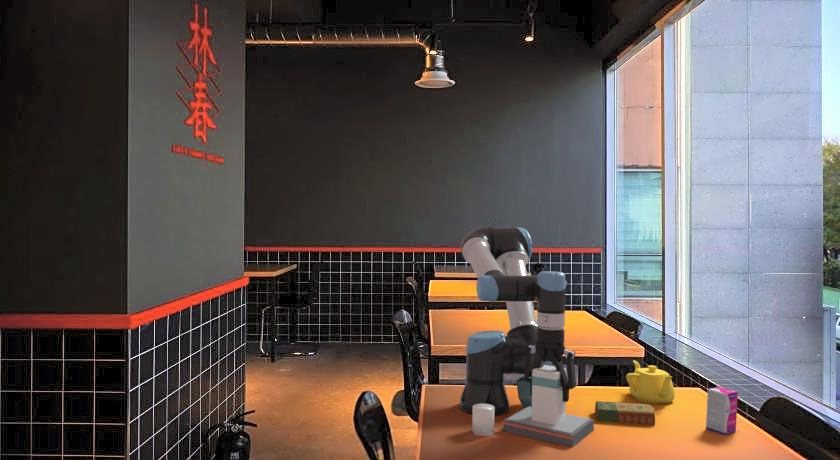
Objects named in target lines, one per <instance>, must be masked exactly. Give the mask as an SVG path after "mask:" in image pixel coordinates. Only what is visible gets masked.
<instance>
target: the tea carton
mask: <svg viewBox="0 0 840 460" xmlns="http://www.w3.org/2000/svg"><path fill="white" fill-rule="evenodd" d="M564 370H565V373H566V374H567V367H564ZM561 389H562V386H561V383H560V371H557V370H556V367H555V366H554V365H551V366H548V365H544V366H543V367H541V368H535V369H533V373H532V420H534V421H538V422H543V423H548V424H552V425H557V424H558V423H560V422H561V421H562V420H564V419H565V414H566V412H565V413H563V414H559V397H560V390H561ZM566 410H567V409H566V408H565V411H566Z"/></svg>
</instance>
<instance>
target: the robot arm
mask: <svg viewBox="0 0 840 460" xmlns="http://www.w3.org/2000/svg"><path fill="white" fill-rule="evenodd" d="M460 251H461V254H462V257H463V259H464V260H465V261H466V262H467V263H469V264H470V266H471V268H472V269H473V272H474V273H475V275H476V277H477V281H476V289H475V290H476V295H477V299H478V300H479V301H481V302H490V303H494V302H495V303H499V302H500V303H501V302H502V303H503V302H505V304H506V309H507V310H506V311H507V315H508V321H509V326H510V327H509V328H510V329H509V330H508V331H507V333H506V334H505V332H504V331H501V330H482V331H479V332H474V333H472V334H470V335H469V336H468V338H467V340H466V349H465V353H466V363H465V364H466V367H465V368H466V371H465V376H466V377H465V385H464V388H463V391H462V394H461V396H460V400H459V408H460V409H461V410H462V411H463V412H466V413H469V414H472V415H473V405H475V404H490V405H493V406H494V407H495V415H494V416H499V415H503V414H506V413H508V412H509V411H510V400H509V398H508V393H507V390H506V386H505V375H523V376H524V381H527V382H529V383H530V394H531V396H532V373H533V369H535V368H541V367H543V366H544V365H548V366H552V364H553V366H554V367H556V370H557V371H560V383H561V386H562V389H561V390H560V397H559V414H563V413H565V414H566V410H565V408H566V404H567V402H568V401H569V400H570V390H572V389H574V388H576V387H577V381H576V380H577V379H576V372H575V371H576V369H575V368H576V367H575V357H576V352H575V351H574V350H572V351H570V350H568V349H566V346H565V329H564V327H565V325H566V323H565V322H566V320H565V318H566V316H565V315H566V314H565V313H566V287H567V284H566V274H565V273H564V272H562V271H555V270H553V271H552V270H550V271H549V270H548V271H547V270H544V271H539V273H538V274H532V275H528V272H527V267H526V266H527V265H528V263H529V260H530V259H531V258H532V255H533V241H532V237H531V235H530V233H529V231H528V230H527V229H526V228H523V227H517V226H510V227H508V226H507V227H506V226H505V227H504V226H481V227H476V228H474V229H472V230H471V231H469V232H468V233H467V234H466V235H465V236H464V238H463V240H462V242H461V245H460ZM533 302H537V303H536V305H537V306H536V310H537V311H536V312H535V307H534V303H533ZM536 313H537V314H536ZM563 355H564V357H565V359H566V362H565V363H566V373H565V370H564V368H565V367H564V364H563V363H564V362H563V358H562V357H563Z"/></svg>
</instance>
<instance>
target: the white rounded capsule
mask: <svg viewBox="0 0 840 460" xmlns="http://www.w3.org/2000/svg"><path fill="white" fill-rule="evenodd" d="M495 416H496V415H495V407H494V406H493V405H490V404H475V405H473V414H472V416H471V417H472V418H471V419H472V420H471V421H472V422H471V424H472V426H471V428H472V430H471V431H472V432H473V433H474V434H473V433H472V434H473V435H475V434H476V436H479V435H480V436H479V437H490V436H493V435H494V434H495Z"/></svg>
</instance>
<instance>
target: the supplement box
mask: <svg viewBox="0 0 840 460" xmlns="http://www.w3.org/2000/svg"><path fill="white" fill-rule="evenodd" d="M738 394H739V392H738V391H736V390H733V389H728V388H725V387H721V386H718V387H713V388H712V387H711V388H707V401H706V402H707V403H706V404H707V405H706V418H705V419H706V421H705V429H706V430H708V431H711V432H715V433H718V434H721V435H727V434H731V433H735V432H736V431H737V414H738V398H739V396H738Z"/></svg>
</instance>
